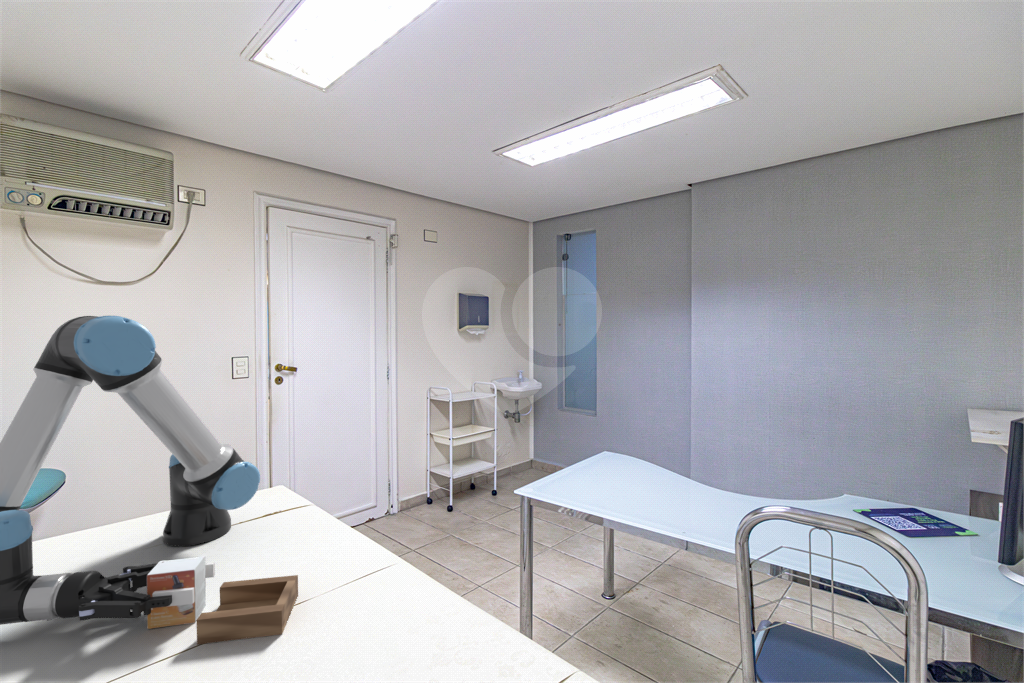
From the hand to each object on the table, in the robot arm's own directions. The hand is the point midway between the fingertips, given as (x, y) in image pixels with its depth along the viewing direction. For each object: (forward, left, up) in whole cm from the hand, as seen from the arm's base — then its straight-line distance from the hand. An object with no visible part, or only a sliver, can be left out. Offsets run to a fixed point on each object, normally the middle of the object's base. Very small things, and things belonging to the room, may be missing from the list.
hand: (204, 582), depth 90 cm
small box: (0, -5, -7) cm, 8 cm away
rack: (+3, +9, -6) cm, 12 cm away
